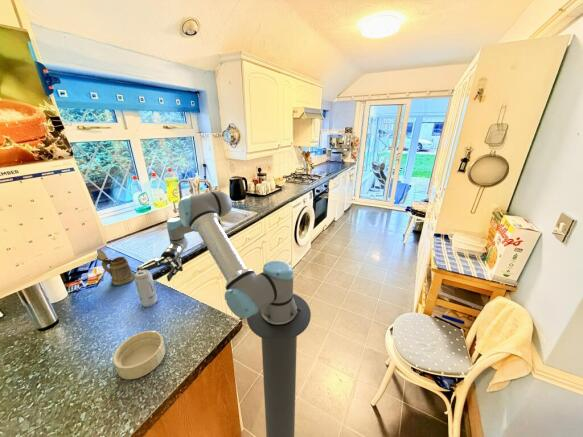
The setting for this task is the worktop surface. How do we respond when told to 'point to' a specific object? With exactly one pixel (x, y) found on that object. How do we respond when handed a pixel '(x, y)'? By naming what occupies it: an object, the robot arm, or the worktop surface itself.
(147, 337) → the bowl
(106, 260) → the wooden mug
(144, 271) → the energy drink can
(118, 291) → the worktop surface
